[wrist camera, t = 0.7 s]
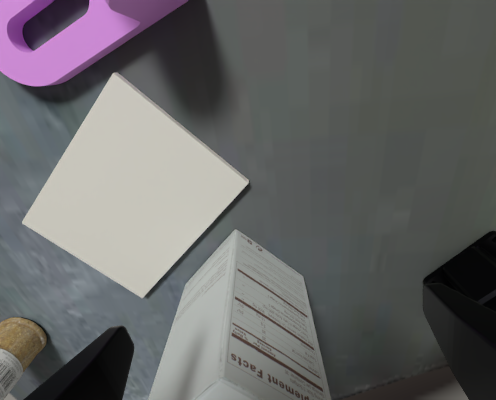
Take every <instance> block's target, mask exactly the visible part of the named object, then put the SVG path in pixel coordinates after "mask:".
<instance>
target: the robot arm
mask: <svg viewBox="0 0 496 400" xmlns="http://www.w3.org/2000/svg"><path fill="white" fill-rule="evenodd" d="M494 237H495V238H494ZM493 238H494V239H493ZM431 281H433V282H431ZM430 282H431V283H430ZM424 283H425V285H424V286H423V311H424V314H425V317H426V319H427V321H428V323H429V325H430V327H431V329H432V331H433V333H434V336H435V338H436V340H437V342H438V344H439V346H440V348H441V350H442V352H443V354H444V356H445V358H446V360H447V362H448V364H449V366H450V368H451V370H452V372H453V374H454V376H455V377H456V379H457V381H458V382H459V384H460V386H461V387H462V389H463V390H464V392H465V394H466V395H467V397H468V399H469V400H496V231H491V232H489V233H487V234H486V235H484V236H483V237H482V238H480V239H479V240H477V241H476V242H475V243H473V244H472V245H470V246H469V247H468V248H466V249H465V250H463V251H462V252H461V253H459V254H458V255H456V256H455V257H454V258H452V259H451V260H449V261H448V262H447V263H445V264H444V265H442V266H441V267H440V268H438V269H437V270H435V271H434V272H433V273H431V274H430V275H428V276H427V277H426V278H425V279H424ZM133 354H134V344H133V341H132V339H131V337H130V335H129V333H128V331H127V329H126V328H125V327H124V326H114V327H110V328H109V329H107V330H106V331H105V332H104V333H103V334H101V335H100V336H99V337H98V338H97V339H95V340H94V341H93V342H92V343H91V344H90V345H88V346H87V347H86V348H85V349H84V350H82V351H81V352H80V353H79V354H78V355H76V356H75V357H74V358H73V359H72V360H70V361H69V362H68V363H67V364H66V365H64V366H63V367H62V368H61V369H60V370H58V371H57V372H56V373H55V374H54V375H52V376H51V377H50V378H49V379H48V380H46V381H45V382H44V383H43V384H42V385H40V386H39V387H38V388H37V389H36V390H34V391H33V392H32V393H31V394H30V395H28V396H27V397H26V398H25V399H24V400H122V398H123V395H124V391H125V387H126V382H127V378H128V374H129V370H130V366H131V362H132V358H133Z"/></svg>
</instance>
